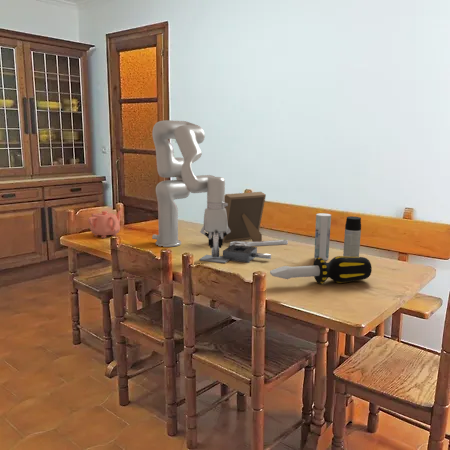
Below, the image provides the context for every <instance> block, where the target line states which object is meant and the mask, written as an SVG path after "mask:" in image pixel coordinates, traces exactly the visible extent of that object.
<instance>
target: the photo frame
mask: <svg viewBox="0 0 450 450" xmlns="http://www.w3.org/2000/svg"><path fill="white" fill-rule="evenodd" d="M265 201H266V194H265V193H264V192H262V191H251V192H239V193H227V194H226V193H225V203H228V206H225V209H226V212H227V224H228V227H229V229H230V230H231V232H230V233H229V234H227V235H226V236H225V237H224V238H223V244H225V243H230V242H234V241H240V242H242V241H246V240H247V241H248V240H251V242H255V241H263V239H262V238H263V237H262V235H263V234H262V233H261V232H260V228H261V223H262V219H263V218H262V217H263V212H264V207H265V203H266V202H265ZM223 233H224V232H223Z"/></svg>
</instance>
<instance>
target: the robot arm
mask: <svg viewBox="0 0 450 450" xmlns="http://www.w3.org/2000/svg"><path fill="white" fill-rule="evenodd" d="M205 137H206V135H205V131H204V129H203V128H202V127H201V126H200V125H199V124H198V125H197V124H195V123H193V122H190V121H187V120H186V121H185V120H169V119H167V120H166V119H165V120H160V121H157V122H156V123H155V124H154V125H153V127H152V141H153V144H154V147H155V156H156V157H155V159H156V169H157V170H156V171H157V173H158V176H159V177H160V178H175V179H170V180H168V179H167V180H162V181H160V182H158V183H157V184H156V186H155V195H156V199H157V212H158V214H157V215H158V217H157V221H158V234H152V237H151V238H152V240H156V241H155V246H157V245H158V247H161V246H163V247H164V248H171V247H178V246H180V245H181V244H182V241H181V240H179V215H178V214H179V212H178V211H179V209H178V206H177V204H176V203H175V201H174V200H182V199H183V200H184V199H188V197H189V195H190V194H201V193H206V208H205V209H204V212H203V213H204V214H203V215H204V216H203V226H202V228H201V229H200V231H199V232H200V233H201V234H202V235H204V236H205V237H206V238H208V246H209V247H210V249H212V232H215V231H218V232H220V239H219V249H220V248H222V247H223V244H224V243H223V238H224V237H225V236H226V235H227V234H229V233H230V232H231V230H230V229H229V227H228V224H227V212H226V209H225V206H228V203H225V194H226V191H225V190H226V188H225V187H226V186H225V185H226V182H225V181H226V180H225V178H224V177H221V176H216V175H212V174H205V175H204V174H202V175H200V174H199V175H195V174H194V171H193V169H192V164H194V163H196V162H197V161H198V160H200V159H201V157H202V154H203V153H202V152H203V151H202V150H201V147H200V144H202V143H203V142H204V140H205ZM171 139H172V140H175V141H176V144H177V146H178V148H179V151H180V153H181V155H182V157H175V154H174V153H175V151H174V146H173V144H172V143H171V142H170V140H171ZM223 232H224V233H223Z"/></svg>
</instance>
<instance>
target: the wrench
mask: <svg viewBox="0 0 450 450" xmlns="http://www.w3.org/2000/svg"><path fill="white" fill-rule="evenodd" d="M231 245H238V246H248V247H259V246H260V247H261V246H263V247H264V246H275V245H276V246H279V245H281V246H282V245H288V239H278V240H277V239H276V240H275V239H273V240H262V241H255V242H252V241H234V242H229V247H230V246H231Z"/></svg>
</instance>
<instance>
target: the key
mask: <svg viewBox="0 0 450 450" xmlns="http://www.w3.org/2000/svg"><path fill="white" fill-rule="evenodd" d="M211 237H212V248H211V255H212V257H219V256H220V248H219V239H220V232H218V231H215V232H212V236H211Z"/></svg>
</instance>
